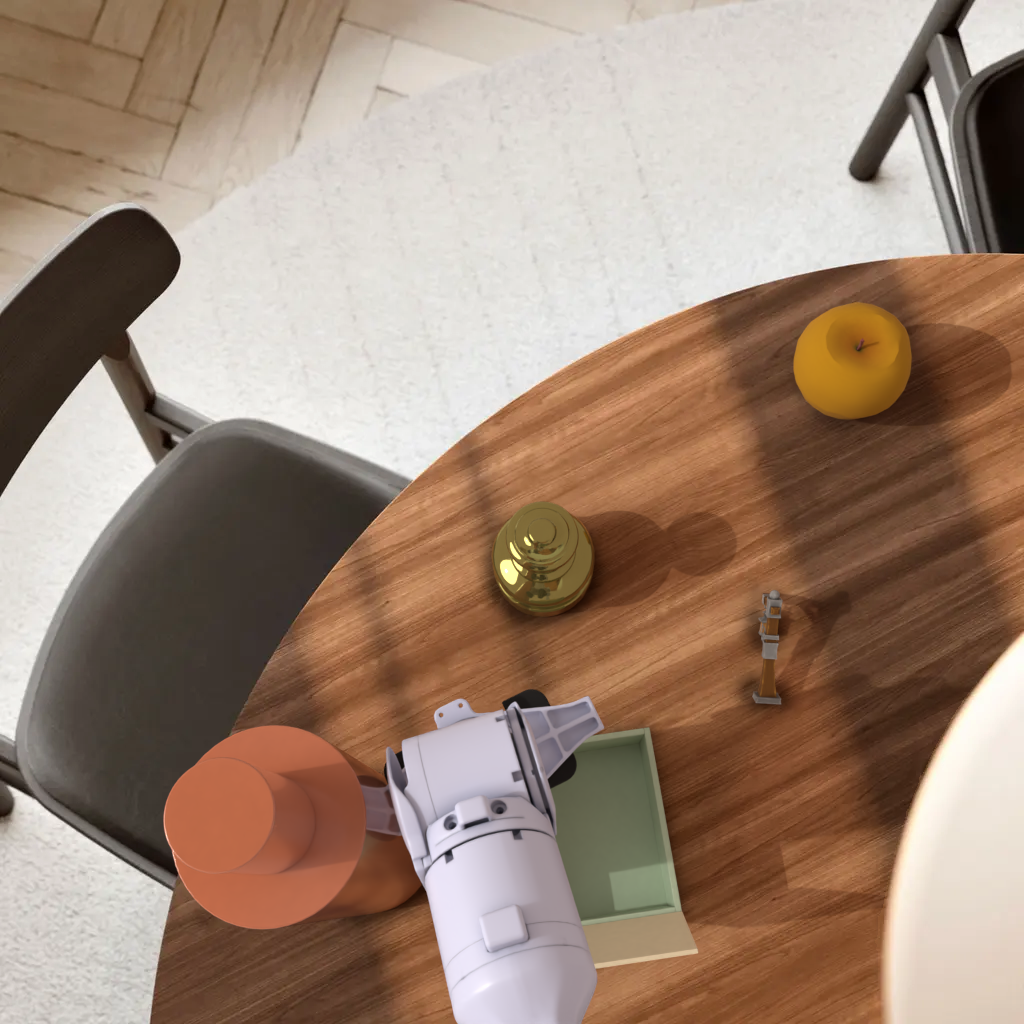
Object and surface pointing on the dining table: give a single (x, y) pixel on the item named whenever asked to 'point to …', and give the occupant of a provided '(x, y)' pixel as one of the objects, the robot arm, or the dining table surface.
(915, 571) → the dining table surface
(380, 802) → the vase
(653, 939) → the door
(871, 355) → the apple
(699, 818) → the dining table surface
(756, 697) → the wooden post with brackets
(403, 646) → the dining table surface
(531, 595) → the brass weight
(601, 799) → the box
